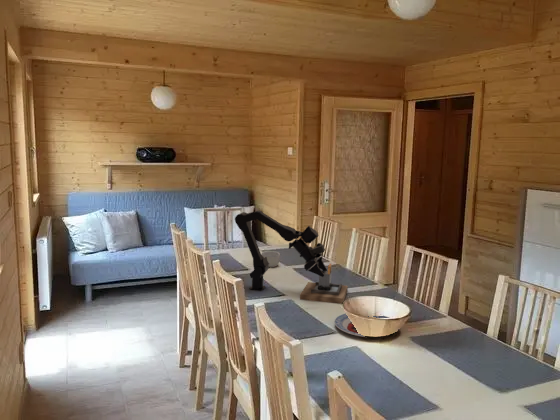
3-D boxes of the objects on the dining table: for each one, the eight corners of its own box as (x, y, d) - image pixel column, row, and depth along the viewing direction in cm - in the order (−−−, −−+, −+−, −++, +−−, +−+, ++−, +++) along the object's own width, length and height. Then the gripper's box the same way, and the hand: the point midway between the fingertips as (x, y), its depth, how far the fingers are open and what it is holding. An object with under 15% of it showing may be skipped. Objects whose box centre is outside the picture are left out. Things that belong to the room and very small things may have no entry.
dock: (300, 299, 224) (300, 291, 224) (308, 286, 243) (308, 279, 243) (342, 303, 219) (342, 295, 219) (347, 290, 238) (347, 282, 238)
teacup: (280, 264, 286) (280, 251, 285) (278, 269, 276) (278, 255, 274) (257, 263, 288) (257, 250, 286) (254, 267, 277) (255, 254, 276)
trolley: (317, 290, 229) (318, 265, 227) (319, 287, 235) (320, 262, 233) (330, 291, 227) (331, 266, 225) (332, 288, 233) (333, 263, 231)
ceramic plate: (400, 345, 176) (401, 337, 176) (331, 338, 181) (331, 330, 181) (398, 320, 201) (398, 313, 201) (336, 314, 206) (337, 307, 206)
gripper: (311, 242, 220) (334, 268, 219) (318, 235, 237) (339, 258, 236) (294, 258, 223) (317, 283, 222) (302, 249, 241) (323, 272, 240)
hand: (325, 273), depth 230 cm, fingers open, 9 cm apart
